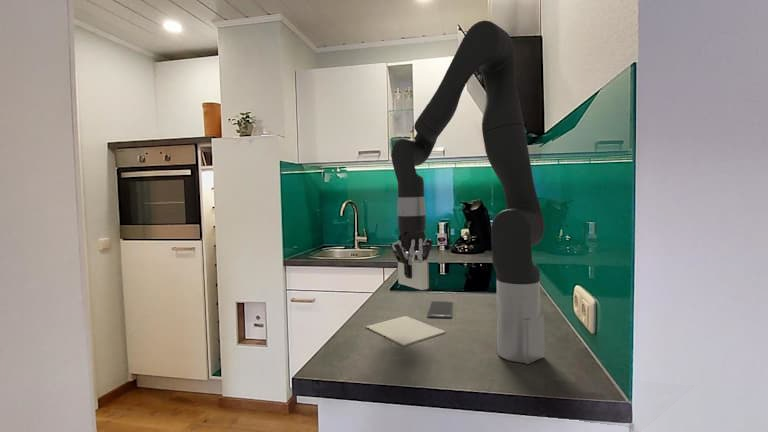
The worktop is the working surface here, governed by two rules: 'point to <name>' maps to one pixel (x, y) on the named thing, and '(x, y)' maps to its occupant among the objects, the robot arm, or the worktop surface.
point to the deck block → (415, 275)
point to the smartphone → (440, 309)
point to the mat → (405, 330)
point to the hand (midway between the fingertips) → (413, 276)
